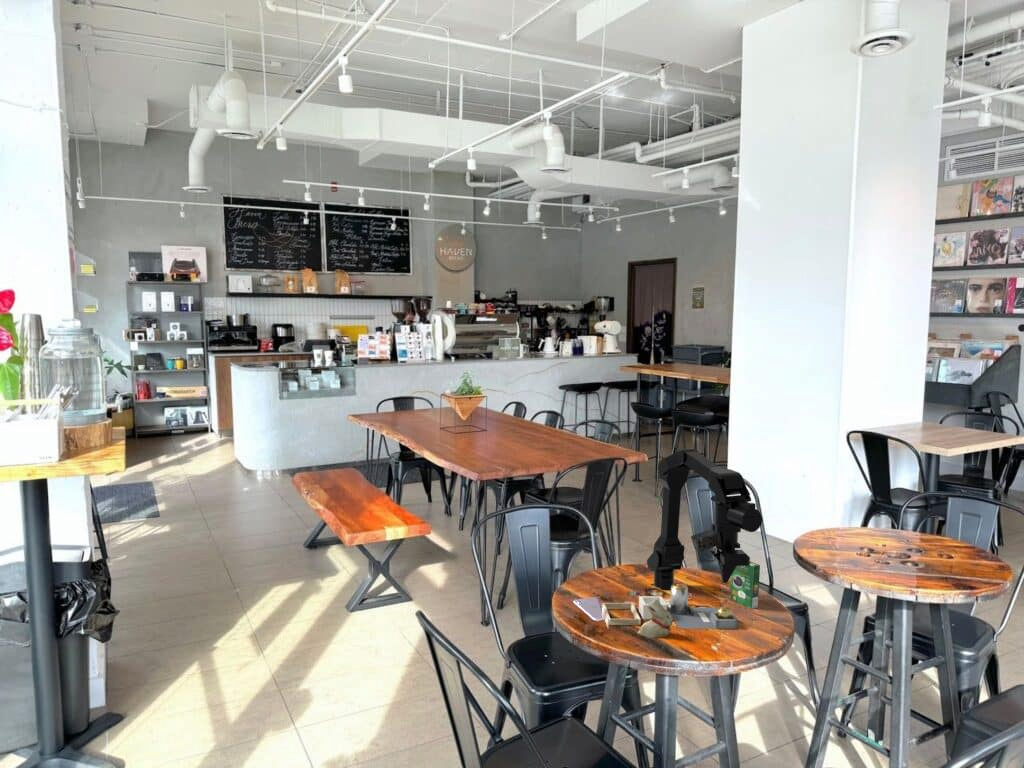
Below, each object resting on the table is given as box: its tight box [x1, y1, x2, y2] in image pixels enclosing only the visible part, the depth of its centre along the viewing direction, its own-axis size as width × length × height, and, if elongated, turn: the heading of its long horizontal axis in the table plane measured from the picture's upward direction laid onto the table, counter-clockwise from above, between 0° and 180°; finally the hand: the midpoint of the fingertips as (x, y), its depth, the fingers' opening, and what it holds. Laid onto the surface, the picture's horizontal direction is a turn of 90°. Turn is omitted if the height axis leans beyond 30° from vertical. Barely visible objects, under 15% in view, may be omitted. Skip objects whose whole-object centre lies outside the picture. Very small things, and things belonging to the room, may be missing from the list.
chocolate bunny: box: [637, 599, 674, 639], centre depth 176 cm, size 6×8×10 cm
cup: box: [638, 595, 668, 620], centre depth 188 cm, size 6×6×5 cm
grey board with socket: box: [666, 603, 740, 630], centre depth 187 cm, size 14×16×3 cm
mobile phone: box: [572, 596, 605, 622], centre depth 195 cm, size 8×1×15 cm
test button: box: [718, 606, 732, 619], centre depth 182 cm, size 3×3×2 cm
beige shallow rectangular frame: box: [601, 602, 642, 631], centre depth 187 cm, size 11×8×3 cm
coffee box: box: [729, 561, 761, 610], centre depth 196 cm, size 8×3×13 cm, turn 29°
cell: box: [670, 582, 689, 615], centre depth 190 cm, size 4×4×7 cm
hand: (724, 582), depth 182 cm, fingers closed
